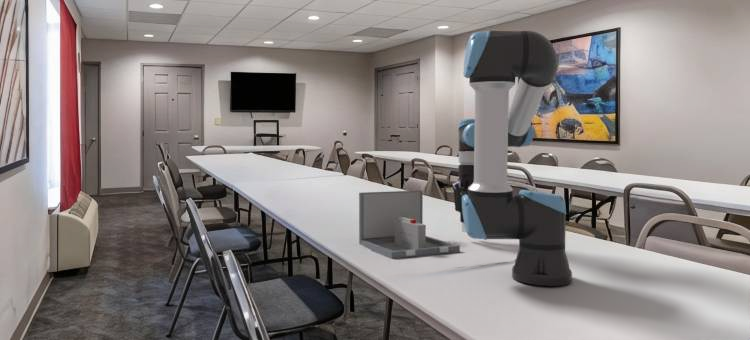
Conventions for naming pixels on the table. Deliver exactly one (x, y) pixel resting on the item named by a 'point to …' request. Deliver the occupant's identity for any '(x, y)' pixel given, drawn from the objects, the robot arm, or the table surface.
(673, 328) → the table surface
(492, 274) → the table surface
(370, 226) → the equipment case
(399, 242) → the cassette player
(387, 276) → the table surface
